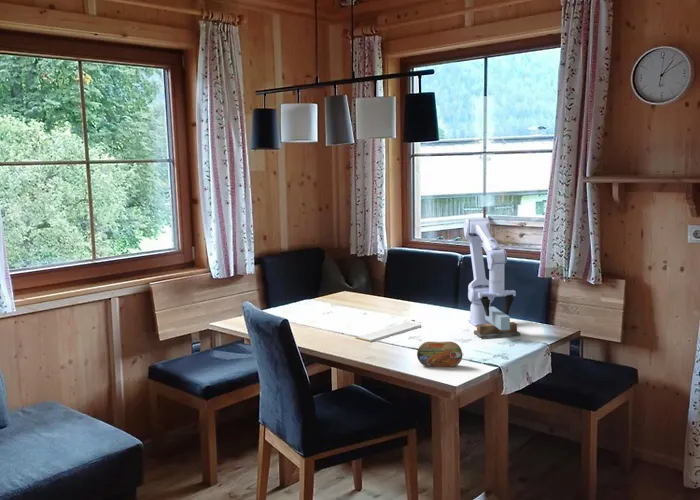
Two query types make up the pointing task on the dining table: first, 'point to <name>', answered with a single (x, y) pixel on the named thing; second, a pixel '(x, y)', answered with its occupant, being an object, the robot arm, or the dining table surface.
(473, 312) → the robot arm
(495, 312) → the beam
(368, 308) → the dining table surface
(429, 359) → the tin
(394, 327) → the baseboard
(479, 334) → the stand
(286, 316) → the dining table surface
